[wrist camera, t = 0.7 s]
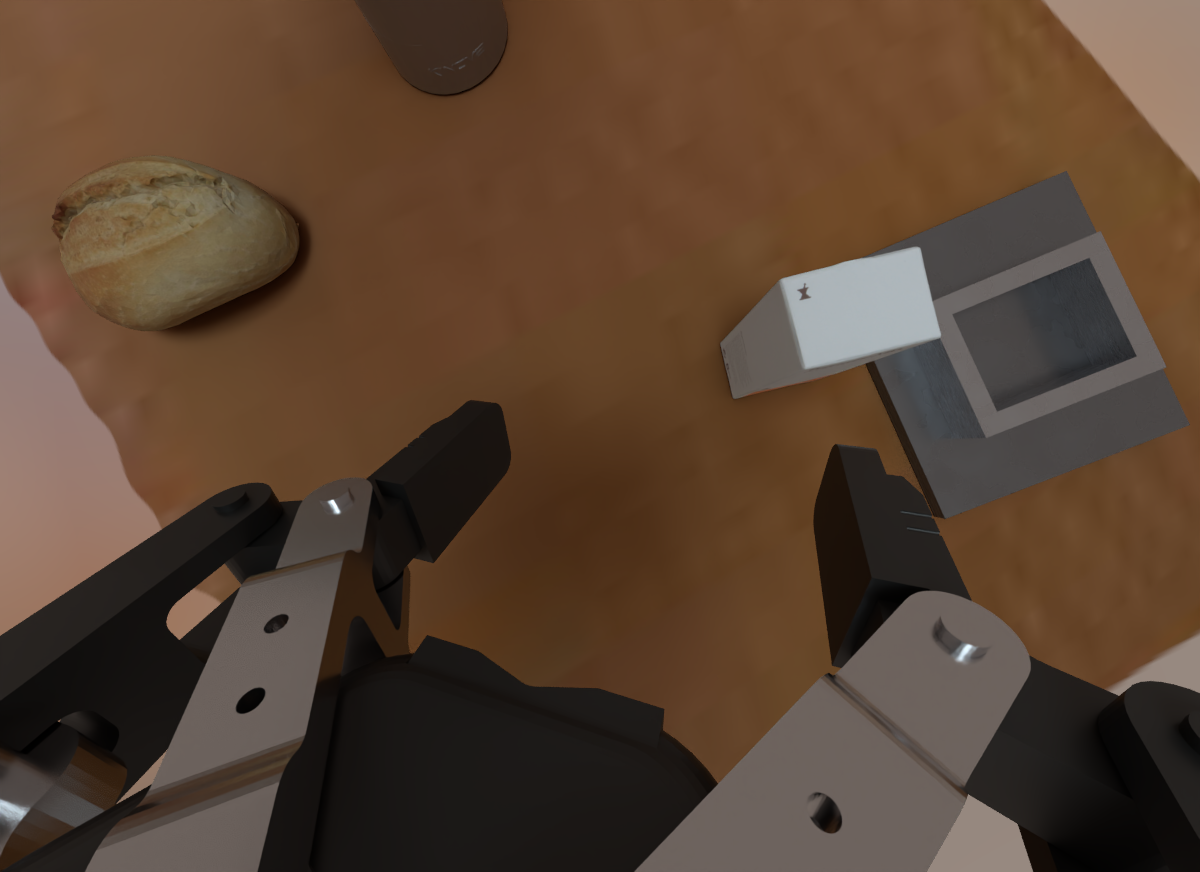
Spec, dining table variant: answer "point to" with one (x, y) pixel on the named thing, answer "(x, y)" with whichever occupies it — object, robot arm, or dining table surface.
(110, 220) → the bread roll
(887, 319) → the skincare box
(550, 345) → the dining table surface
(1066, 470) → the grey box holder
